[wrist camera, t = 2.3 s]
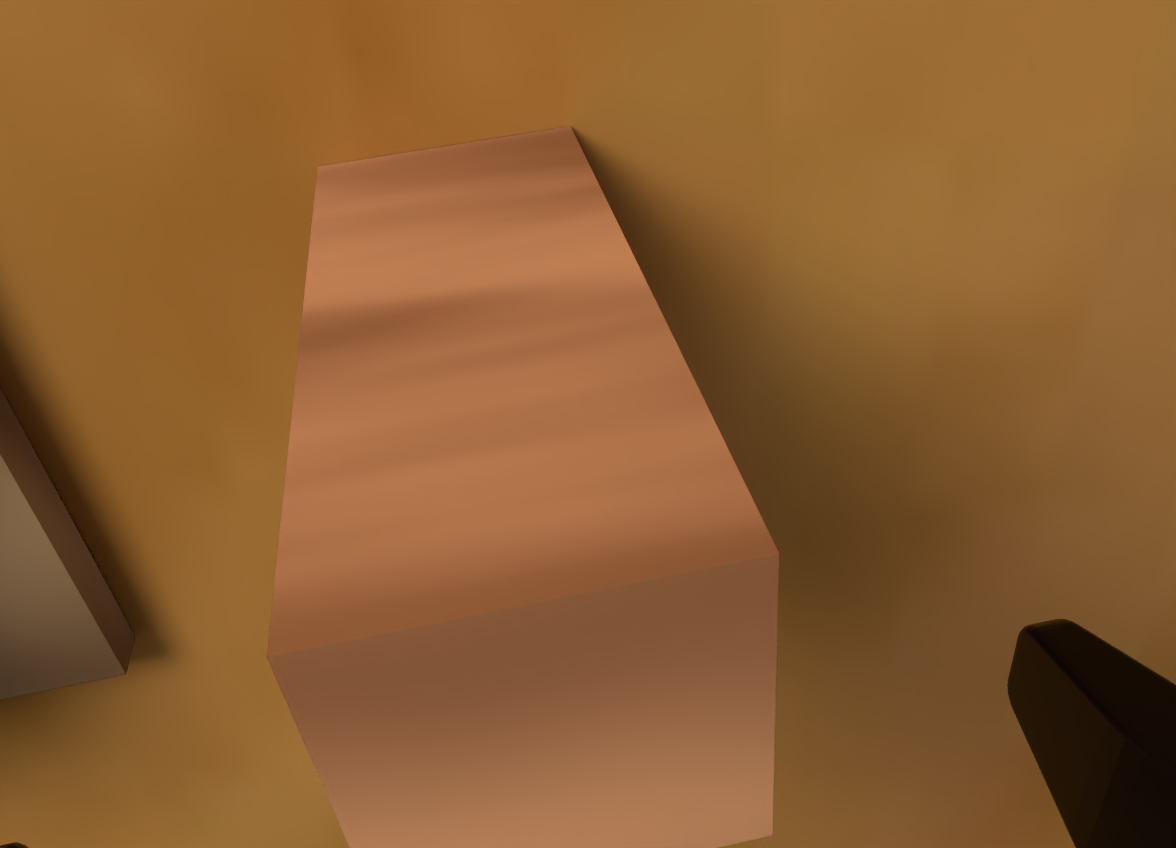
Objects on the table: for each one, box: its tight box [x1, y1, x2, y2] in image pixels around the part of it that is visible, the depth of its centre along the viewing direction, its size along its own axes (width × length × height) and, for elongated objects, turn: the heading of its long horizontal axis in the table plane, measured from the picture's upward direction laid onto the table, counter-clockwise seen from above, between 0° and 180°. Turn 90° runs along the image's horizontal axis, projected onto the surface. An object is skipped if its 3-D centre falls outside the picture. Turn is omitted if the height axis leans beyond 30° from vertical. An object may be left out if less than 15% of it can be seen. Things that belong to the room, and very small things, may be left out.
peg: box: [267, 126, 779, 848], centre depth 13 cm, size 4×4×10 cm
